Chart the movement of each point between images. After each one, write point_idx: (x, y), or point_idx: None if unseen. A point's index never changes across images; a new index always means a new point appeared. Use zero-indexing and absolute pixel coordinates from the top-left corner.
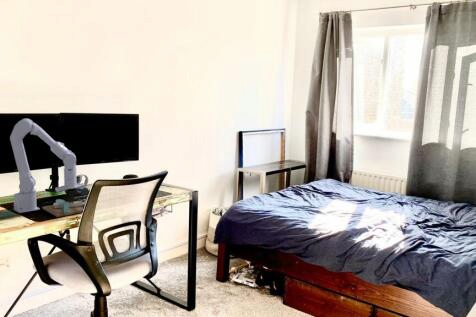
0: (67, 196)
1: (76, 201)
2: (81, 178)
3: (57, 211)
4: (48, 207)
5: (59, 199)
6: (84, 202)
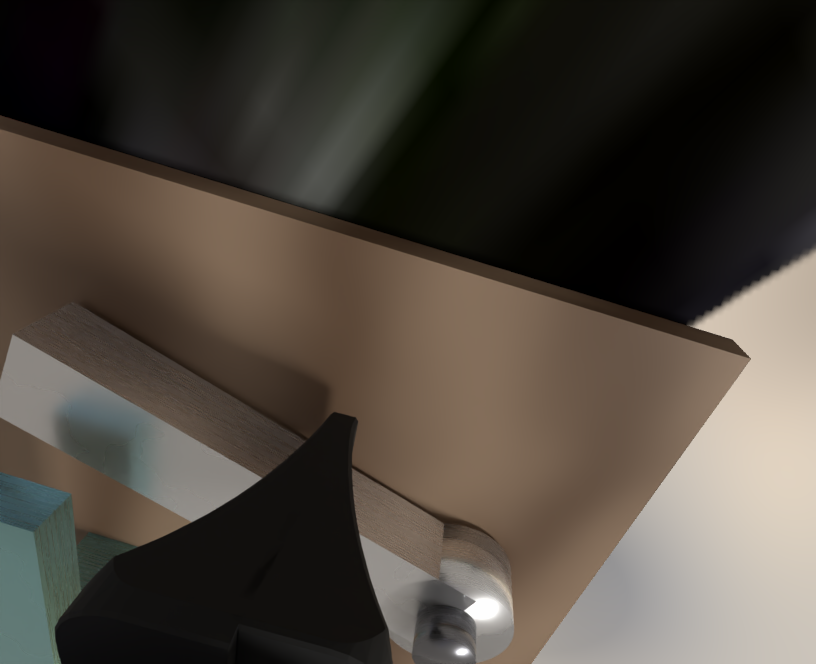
0: (252, 489)
1: (369, 552)
2: None
3: (54, 476)
4: (8, 231)
5: (4, 530)
6: (409, 651)
